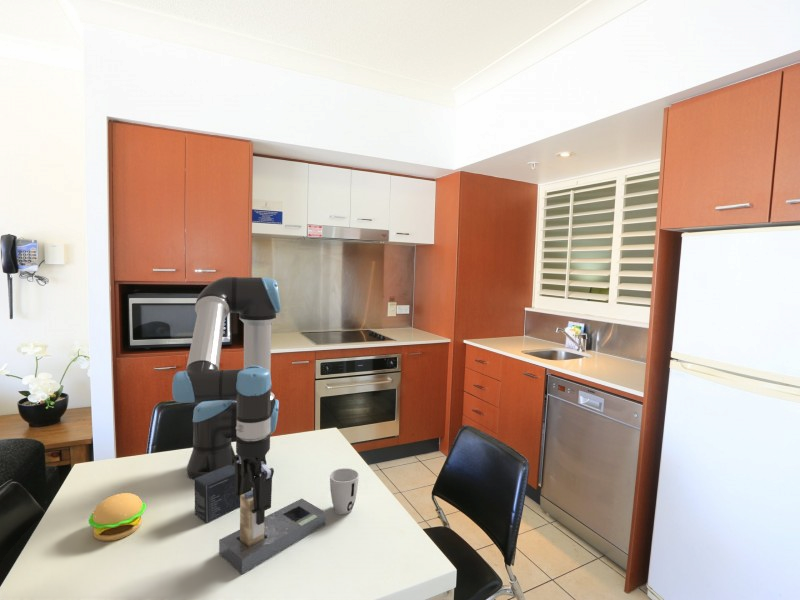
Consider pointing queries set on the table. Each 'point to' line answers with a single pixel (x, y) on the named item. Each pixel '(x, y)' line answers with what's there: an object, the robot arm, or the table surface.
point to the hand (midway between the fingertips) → (252, 530)
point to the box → (215, 494)
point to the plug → (247, 520)
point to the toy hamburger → (117, 516)
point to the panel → (273, 535)
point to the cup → (343, 489)
